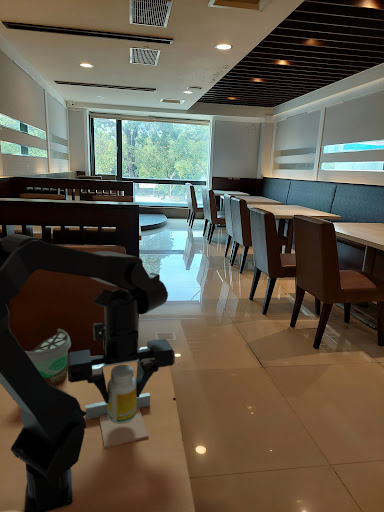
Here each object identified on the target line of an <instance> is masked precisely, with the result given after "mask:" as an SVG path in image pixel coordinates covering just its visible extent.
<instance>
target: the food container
mask: <svg viewBox="0 0 384 512" xmlns="http://www.w3.org/2000/svg"><path fill="white" fill-rule="evenodd" d="M71 346H72V342H71V338H70V336H69V334H68V332H67V331H65V330H64V329H61V328H57V332H56V333H55V334H54V335H52V336H50V337H48V338H47V339H44V340H43V341H42V342H40V343H39V344H38V345H37V346H35V347H34V348H33V349H32V350H29V351H27V350H24V351H25V352H26V354H27V355H28V356H29V358H30V359H31V361H32V362H33V364H34V365H35V367H36V368H37V370H38V371H39V372H40V374H41V375H42V377H43V378H44V380H45V381H46V383H47V384H48V386H50V385H53V386H54V387H56V388H57V387H58V386H60V385H61V384H62V383H64V382H65V381H66V379H68V368H67V355H68V354H69V350H70V348H71Z"/></svg>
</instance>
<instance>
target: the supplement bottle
mask: <svg viewBox="0 0 384 512" xmlns="http://www.w3.org/2000/svg"><path fill="white" fill-rule="evenodd" d="M106 388H107V394H108V418H109V419H110V421H112V422H113V423H116V424H123V423H128V422H130V421H131V420H133V419H134V417H135V416H136V406H137V382H136V378H135V377H134V368H133V367H132V366H131V365H128V364H119V365H115V366H114V367H112V369H111V371H110V378H109V380H108V382H107V384H106Z"/></svg>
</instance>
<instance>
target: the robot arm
mask: <svg viewBox="0 0 384 512" xmlns="http://www.w3.org/2000/svg"><path fill="white" fill-rule="evenodd" d="M143 262H144V261H143V259H142V258H140V257H139V256H135V255H131V254H124V253H120V252H115V251H111V250H110V251H109V250H107V251H104V250H102V251H101V250H99V251H94V252H93V251H92V252H89V251H84V250H80V249H77V248H72V247H67V246H63V245H60V244H59V245H58V244H55V243H50V242H45V241H43V240H41V239H39V238H37V237H34V236H30V235H24V234H19V233H12V234H9V235H7V236H5V237H3V238H1V239H0V384H1V386H2V388H3V389H4V390H5V392H7V394H8V395H9V396H10V397H11V398H12V400H13V401H14V403H16V405H17V406H18V407H19V409H20V410H21V417H20V421H21V422H22V426H23V427H22V428H21V431H20V432H19V434H18V435H17V437H16V439H15V440H14V442H13V444H12V446H11V447H10V451H11V453H12V454H13V455H14V457H16V459H19V460H20V461H22V462H23V463H25V472H26V488H25V501H24V512H49V511H50V512H51V511H53V510H57V509H60V508H63V507H67V506H70V505H71V504H72V503H73V500H74V498H73V482H72V481H73V479H72V467H73V466H74V465H75V464H77V463H78V461H79V459H80V456H81V455H80V454H81V450H82V447H83V442H84V439H85V432H86V430H85V429H86V428H87V421H86V414H87V413H86V410H85V411H84V410H83V409H82V408H81V405H80V403H79V400H78V399H77V398H76V397H75V396H73V395H71V394H69V393H68V392H66V391H64V390H63V389H60V388H58V387H57V386H56V387H54V386H53V385H50V386H48V384H47V383H46V381H45V380H44V378H43V377H42V375H41V374H40V372H39V371H38V370H37V368H36V367H35V365H34V364H33V362H32V361H31V359H30V358H29V356H28V355H27V354H26V352H25V351H26V350H24V347H22V344H20V342H19V340H18V339H17V337H16V336H15V335H14V333H13V332H12V330H11V328H10V310H9V307H8V304H7V303H9V302H10V301H11V300H12V299H15V297H16V296H17V295H19V294H20V292H21V291H22V289H23V287H24V286H25V284H26V282H27V281H28V279H29V278H30V276H31V275H32V274H33V273H35V272H36V271H37V270H40V271H47V272H55V273H59V274H66V275H72V276H73V275H74V276H80V277H87V278H90V279H92V280H94V281H97V282H99V283H102V284H105V285H109V286H112V287H115V288H116V287H117V288H116V289H114V290H108V289H105V288H104V289H102V291H101V293H100V294H98V296H96V298H95V299H94V300H93V303H94V304H95V305H98V306H101V307H104V323H103V322H99V323H92V324H93V325H92V327H93V328H92V332H93V334H92V335H93V341H95V342H98V341H102V345H103V346H102V349H103V351H104V352H105V354H102V355H101V354H100V355H95V356H91V351H90V349H84V350H82V349H81V350H77V351H70V352H68V355H67V381H68V382H69V383H77V382H83V381H84V382H85V381H86V383H87V384H94V386H95V387H96V388H97V389H98V390H99V393H100V394H101V397H102V398H103V402H105V403H106V404H108V394H107V381H106V378H105V373H104V368H105V367H112V366H118V365H126V364H130V363H136V366H137V367H136V376H135V377H136V378H135V379H136V382H137V398H138V397H139V396H140V394H142V392H143V390H144V389H145V387H146V385H147V383H148V382H149V380H150V379H151V377H152V376H153V374H154V373H157V372H158V371H159V369H160V368H165V367H171V366H174V365H175V360H176V357H175V356H176V354H175V351H174V349H173V347H172V346H171V344H170V343H169V341H168V340H167V339H166V338H161V339H154V340H148V341H147V342H146V346H142V347H140V348H139V349H138V342H139V341H138V339H139V332H138V331H139V329H138V327H139V326H138V324H139V323H138V315H144V314H147V313H149V312H151V311H153V310H155V309H157V308H158V307H161V306H163V305H165V303H166V302H167V301H168V297H169V292H168V290H167V287H166V286H165V284H164V282H163V281H162V280H161V275H160V274H159V273H154V272H149V273H148V272H147V270H146V268H145V266H144V264H143Z"/></svg>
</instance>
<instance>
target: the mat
mask: <svg viewBox="0 0 384 512" xmlns="http://www.w3.org/2000/svg"><path fill="white" fill-rule="evenodd" d="M140 409H141V408H137V409H136V416H135V417H134V419H133V420H131V421H130V422H128V423H123V424H116V423H113V422H112V421H110V419H109V418H108V415H104V416H100V417H99V424H100V428H101V429H100V430H101V434H102V441H103V446H104V449H107V448H110V447H115V446H119V445H123V444H127V443H131V442H135V441H139V440H143V439H148V438H149V433H148V431H147V430H148V429H147V427H146V425H145V421H144V418H143V415H142V413H141V410H140Z"/></svg>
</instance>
